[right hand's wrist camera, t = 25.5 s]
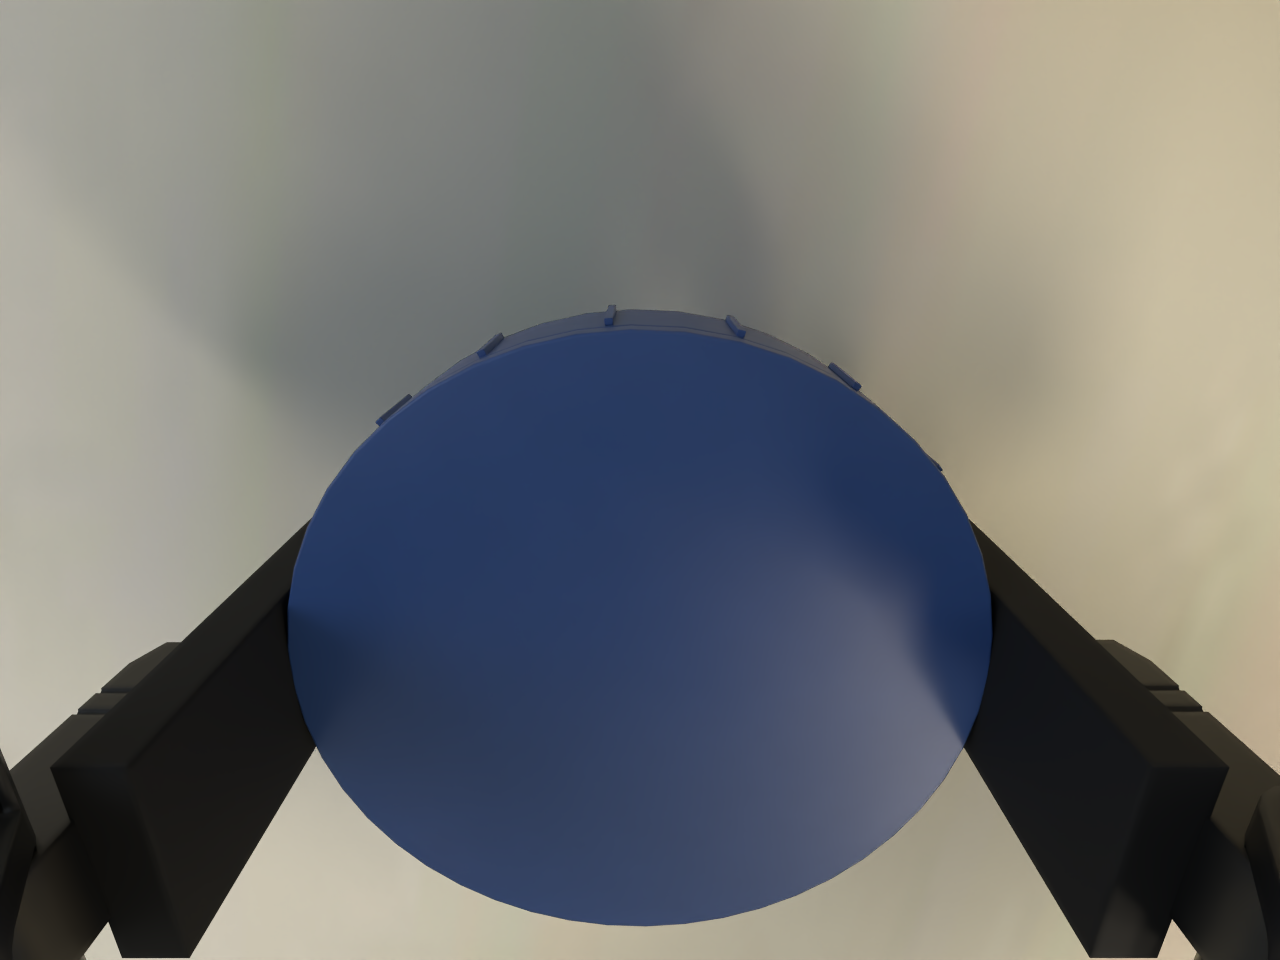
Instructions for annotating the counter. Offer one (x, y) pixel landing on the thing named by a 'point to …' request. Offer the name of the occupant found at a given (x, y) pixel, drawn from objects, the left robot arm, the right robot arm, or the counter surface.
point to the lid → (639, 621)
